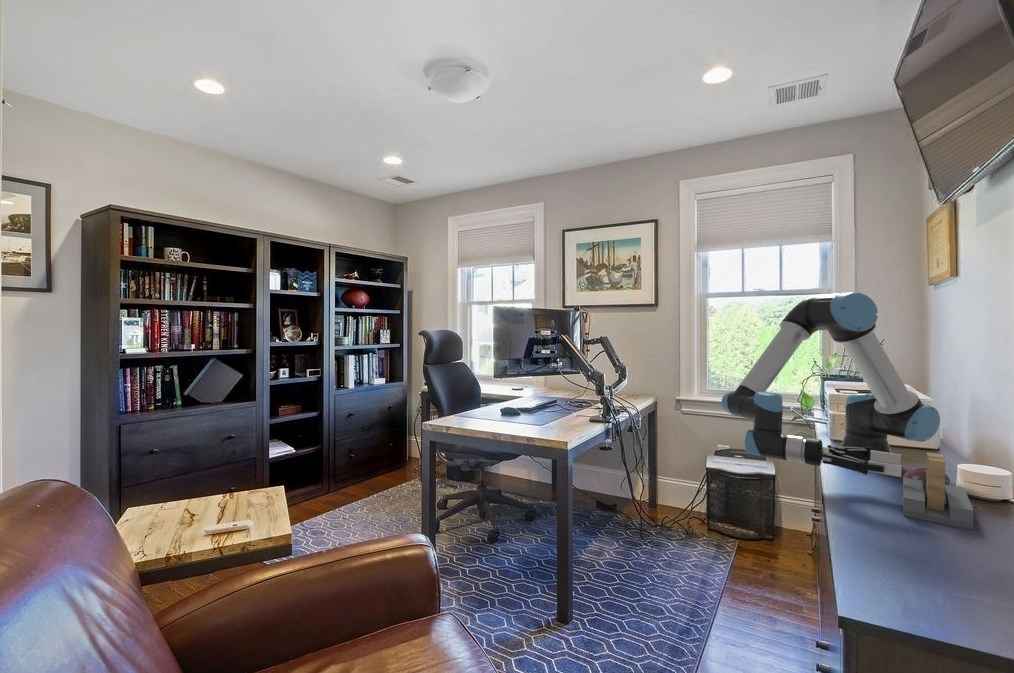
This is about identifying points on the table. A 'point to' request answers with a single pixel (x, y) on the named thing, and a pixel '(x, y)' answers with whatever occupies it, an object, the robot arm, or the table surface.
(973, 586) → the table surface
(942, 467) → the oak plank
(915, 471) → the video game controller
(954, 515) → the grooved sill
